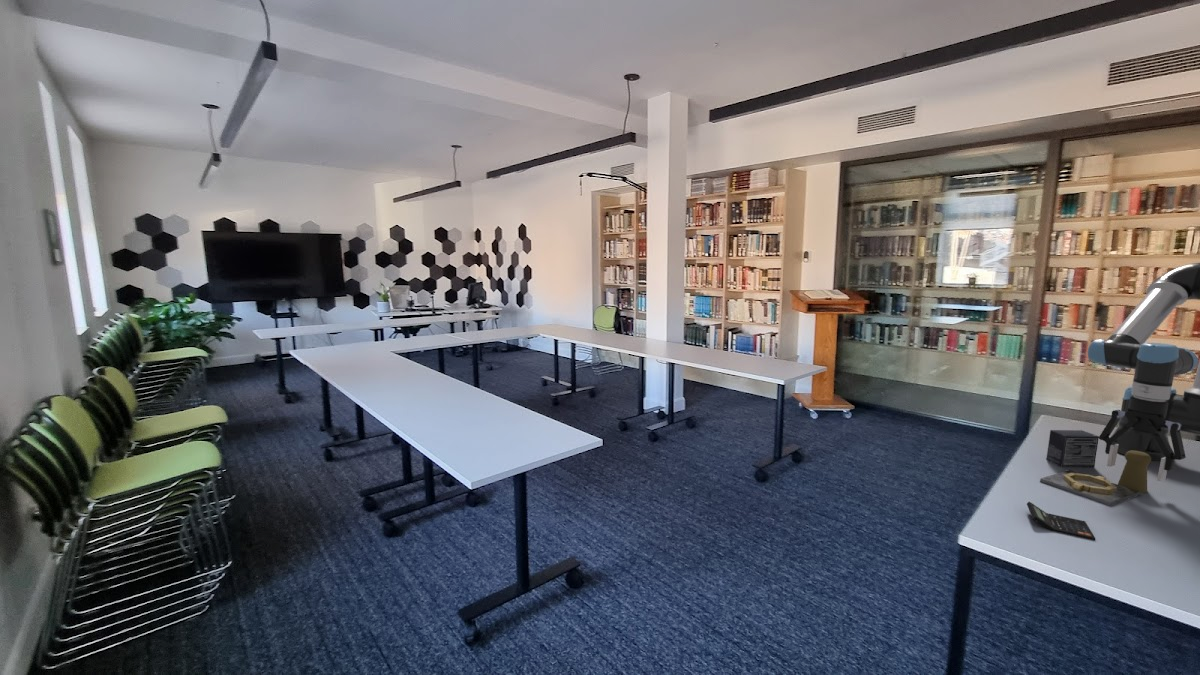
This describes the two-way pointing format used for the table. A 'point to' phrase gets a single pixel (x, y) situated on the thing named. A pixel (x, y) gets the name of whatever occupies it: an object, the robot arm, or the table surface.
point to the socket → (1090, 487)
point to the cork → (1135, 471)
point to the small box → (1072, 448)
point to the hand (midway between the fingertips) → (1135, 472)
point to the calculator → (1061, 523)
